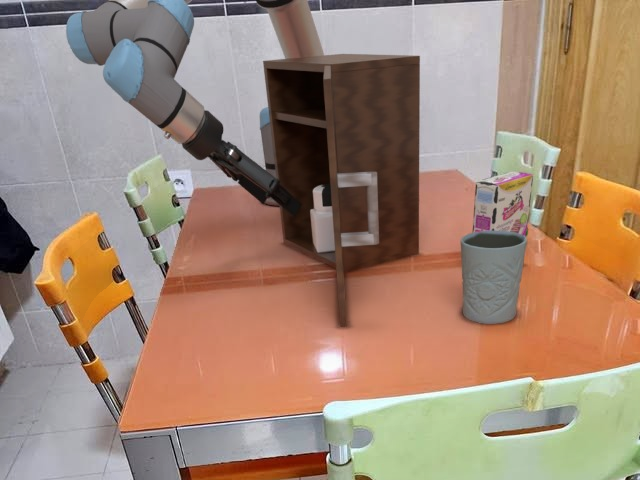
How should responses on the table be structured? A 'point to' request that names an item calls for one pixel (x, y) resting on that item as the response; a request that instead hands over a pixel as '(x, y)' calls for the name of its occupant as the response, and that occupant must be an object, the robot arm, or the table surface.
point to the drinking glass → (491, 275)
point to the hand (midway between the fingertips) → (281, 204)
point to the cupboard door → (337, 182)
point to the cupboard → (349, 147)
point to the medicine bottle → (322, 219)
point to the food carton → (503, 203)
